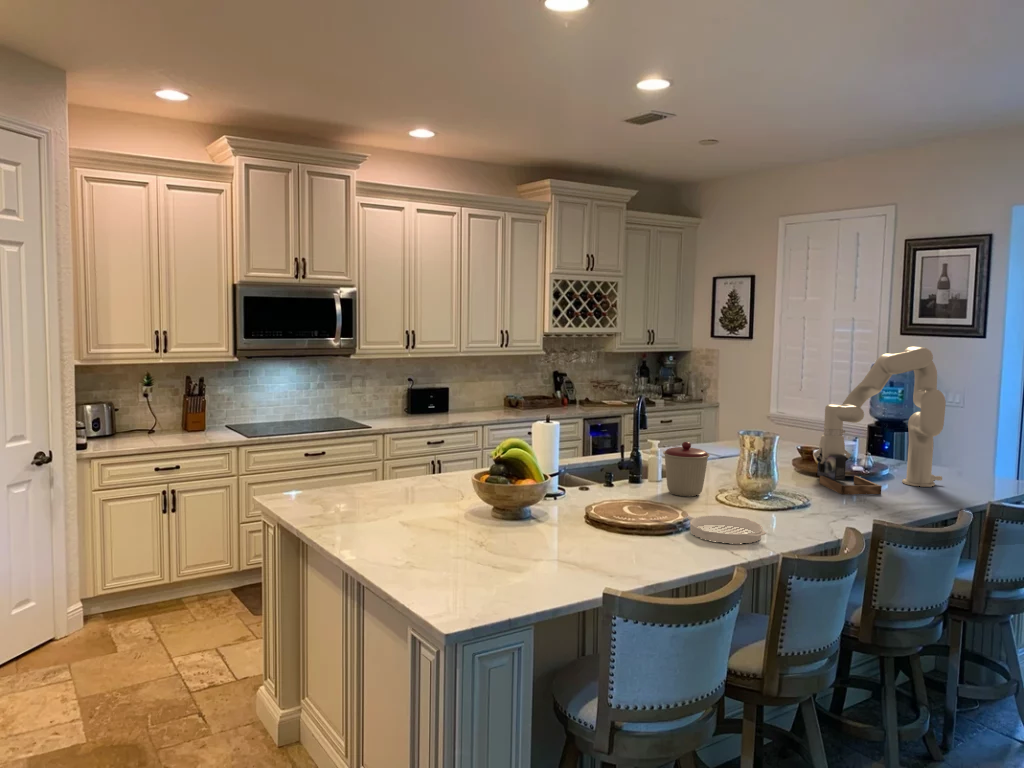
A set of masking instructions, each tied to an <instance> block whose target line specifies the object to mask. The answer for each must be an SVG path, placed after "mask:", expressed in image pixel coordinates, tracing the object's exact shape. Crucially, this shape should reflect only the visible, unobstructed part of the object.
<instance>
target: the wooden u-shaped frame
mask: <svg viewBox="0 0 1024 768" xmlns="http://www.w3.org/2000/svg"><path fill="white" fill-rule="evenodd" d="M819 485H821V486H824V487H826V488H827V489H830V490H831V489H832V491H834V492H836V493H837V494H840V495H854V494H881V495H882V485H879V484H878V483H875V482H872V481H870V480H867V479H865V478H863V477H860V476H858V475H853V485H850V484H849V485H847V484H846V485H844V484H841V483H840V482H838V481H836V480H831V479H829V478H826V477H824V476H819Z"/></svg>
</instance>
